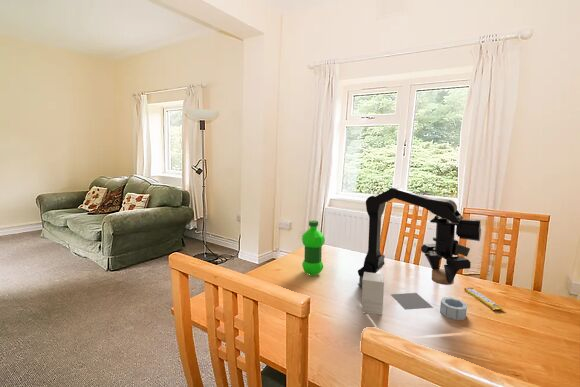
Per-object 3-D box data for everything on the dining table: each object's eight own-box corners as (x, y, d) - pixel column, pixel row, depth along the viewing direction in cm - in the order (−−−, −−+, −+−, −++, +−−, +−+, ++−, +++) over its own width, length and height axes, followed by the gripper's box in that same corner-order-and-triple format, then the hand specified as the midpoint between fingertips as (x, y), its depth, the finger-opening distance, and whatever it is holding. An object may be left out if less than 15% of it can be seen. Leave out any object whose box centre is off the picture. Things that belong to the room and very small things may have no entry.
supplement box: (382, 306, 107) (384, 273, 105) (382, 316, 100) (384, 282, 98) (362, 302, 109) (364, 271, 107) (360, 312, 102) (362, 279, 100)
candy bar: (462, 290, 120) (462, 286, 120) (471, 290, 120) (472, 286, 120) (493, 313, 104) (494, 308, 103) (504, 312, 104) (505, 308, 104)
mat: (405, 310, 104) (405, 309, 104) (390, 295, 114) (390, 294, 114) (433, 308, 105) (433, 307, 105) (416, 294, 116) (416, 292, 116)
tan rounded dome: (439, 285, 98) (440, 277, 98) (427, 277, 105) (427, 269, 105) (458, 284, 99) (458, 275, 99) (444, 275, 106) (445, 268, 106)
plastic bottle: (297, 274, 133) (298, 222, 129) (308, 267, 142) (309, 217, 138) (317, 280, 128) (318, 225, 124) (326, 271, 137) (328, 220, 133)
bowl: (450, 322, 97) (451, 309, 96) (435, 309, 105) (436, 298, 104) (471, 320, 98) (472, 308, 97) (455, 308, 106) (456, 296, 105)
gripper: (487, 242, 92) (484, 288, 94) (448, 228, 110) (445, 267, 112) (455, 244, 90) (452, 291, 92) (421, 229, 109) (419, 269, 111)
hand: (442, 278), depth 102 cm, fingers closed on tan rounded dome, 7 cm apart
